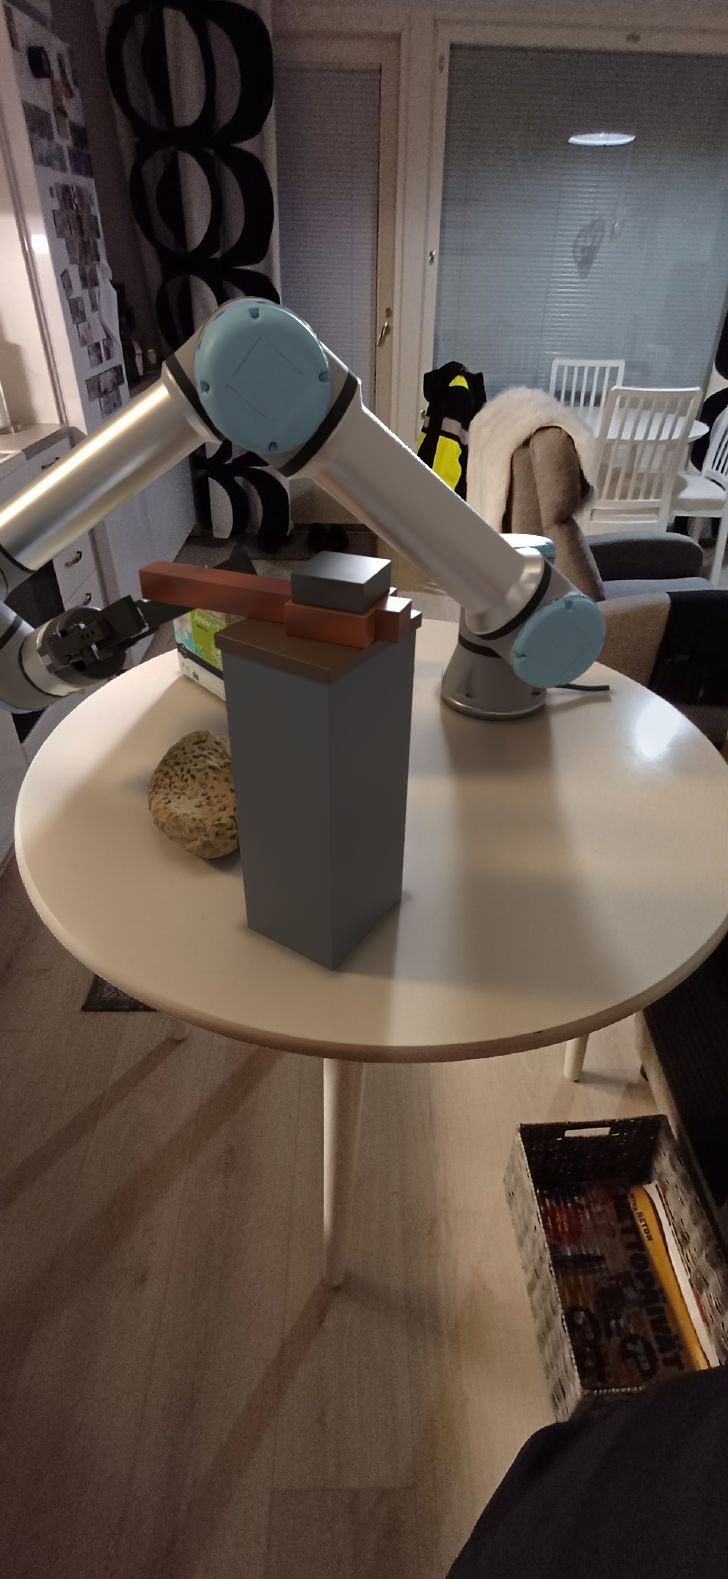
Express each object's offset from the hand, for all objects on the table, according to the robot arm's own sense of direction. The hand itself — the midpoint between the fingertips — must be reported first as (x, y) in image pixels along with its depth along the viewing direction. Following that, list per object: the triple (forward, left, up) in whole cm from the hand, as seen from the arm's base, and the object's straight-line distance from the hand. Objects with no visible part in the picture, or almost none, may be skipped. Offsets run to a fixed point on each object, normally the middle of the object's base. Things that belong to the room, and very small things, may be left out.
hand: (197, 587), depth 65 cm
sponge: (+3, -9, -30) cm, 32 cm away
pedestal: (-10, +8, -30) cm, 33 cm away
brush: (-6, +6, 0) cm, 9 cm away
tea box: (+1, -43, -30) cm, 52 cm away
